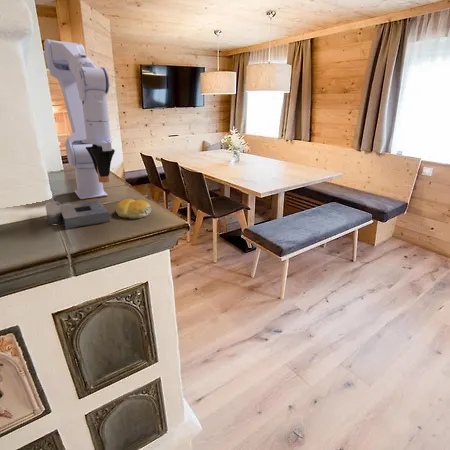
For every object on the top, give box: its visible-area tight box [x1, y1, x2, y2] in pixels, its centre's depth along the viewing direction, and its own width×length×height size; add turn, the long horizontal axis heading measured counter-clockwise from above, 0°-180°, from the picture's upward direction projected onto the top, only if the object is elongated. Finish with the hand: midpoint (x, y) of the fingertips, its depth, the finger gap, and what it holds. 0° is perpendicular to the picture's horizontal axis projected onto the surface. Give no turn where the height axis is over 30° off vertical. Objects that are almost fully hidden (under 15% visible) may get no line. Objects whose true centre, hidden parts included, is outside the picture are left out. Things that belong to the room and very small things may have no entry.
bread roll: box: [115, 198, 152, 220], centre depth 82 cm, size 8×9×4 cm
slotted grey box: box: [44, 200, 111, 230], centre depth 76 cm, size 10×13×5 cm
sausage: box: [97, 168, 110, 184], centre depth 81 cm, size 3×3×6 cm
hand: (102, 174), depth 81 cm, fingers closed on sausage, 3 cm apart
